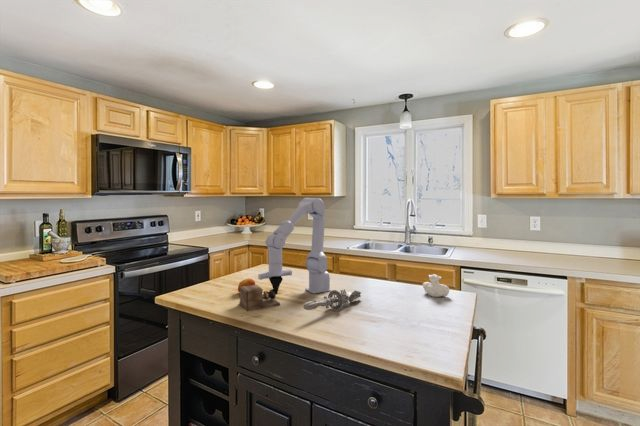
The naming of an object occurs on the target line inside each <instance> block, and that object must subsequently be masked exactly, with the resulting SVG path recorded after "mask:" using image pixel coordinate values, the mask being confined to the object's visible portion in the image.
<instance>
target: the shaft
mask: <svg viewBox="0 0 640 426" xmlns="http://www.w3.org/2000/svg"><path fill="white" fill-rule="evenodd" d="M276 295H277V294H275V290H274V289H273V288H272V289H269V291H268V290H263V299H265V300H267V299H268V298H271V299H275V300H276Z"/></svg>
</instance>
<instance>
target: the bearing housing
mask: <svg viewBox="0 0 640 426" xmlns="http://www.w3.org/2000/svg"><path fill="white" fill-rule="evenodd" d="M263 292H264V290H263V288H262V287H261V286H259V285H258V284H255V285H250V286H243V287H240V292H239V299H240V300H239V305H240V306H241V307H242V308H243V309H244V310H245V312H252V311H258V310H262V309H263V310H264V309H267V308H269V309H270V308H273V307H277V306H281V303H280V301H278V300H276V298H275V299H271V298H268V299H267V300H265V299H263Z"/></svg>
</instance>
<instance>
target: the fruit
mask: <svg viewBox="0 0 640 426" xmlns="http://www.w3.org/2000/svg"><path fill="white" fill-rule="evenodd" d="M250 285H256V281H255V280H254V279H253V278H250V277H249V278H245V279H242V280H240V281H239V284H238V287H237V290H238V293H240V287H243V286H250Z"/></svg>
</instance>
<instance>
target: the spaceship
mask: <svg viewBox="0 0 640 426" xmlns="http://www.w3.org/2000/svg"><path fill="white" fill-rule="evenodd" d="M361 294H362V292H361V291H358V290H354V291H352V292H351V291H350V292H349V291H348V292H346V289H341V290H340V291H339V290H336V289H334V290H330V291H329V293H328V294H327V295H323V299H320V300H319V301H316V300H311V301H307V302H305V303H304V304H303V306H302V307H303V309H304V310H306V311H313V310H316V309H317V308H318V307H325V309H329V308H331V309H332V310H334V311H340V310H341V309H342V308H345V307H349V306H350V304H349V303H352V302H353V301H356V302H358V301H359V300H360V299H361V298H362V297H363V296H362V295H361Z"/></svg>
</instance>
